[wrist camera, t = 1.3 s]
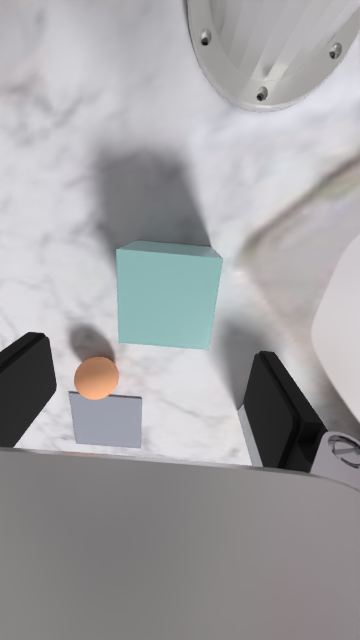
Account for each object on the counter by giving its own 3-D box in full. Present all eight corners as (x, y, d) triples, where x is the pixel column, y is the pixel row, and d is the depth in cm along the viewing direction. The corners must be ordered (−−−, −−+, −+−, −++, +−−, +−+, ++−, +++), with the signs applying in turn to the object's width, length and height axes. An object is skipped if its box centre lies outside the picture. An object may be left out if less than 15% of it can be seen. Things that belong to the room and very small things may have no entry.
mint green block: (136, 239, 23) (115, 248, 16) (211, 246, 23) (222, 258, 16) (136, 309, 26) (118, 342, 19) (202, 315, 26) (208, 350, 20)
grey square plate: (69, 392, 32) (68, 393, 31) (141, 398, 32) (141, 399, 32) (76, 442, 36) (76, 443, 35) (140, 447, 36) (140, 448, 36)
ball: (82, 347, 29) (63, 371, 24) (122, 350, 29) (111, 375, 24) (86, 379, 31) (68, 407, 26) (123, 382, 31) (112, 410, 26)
